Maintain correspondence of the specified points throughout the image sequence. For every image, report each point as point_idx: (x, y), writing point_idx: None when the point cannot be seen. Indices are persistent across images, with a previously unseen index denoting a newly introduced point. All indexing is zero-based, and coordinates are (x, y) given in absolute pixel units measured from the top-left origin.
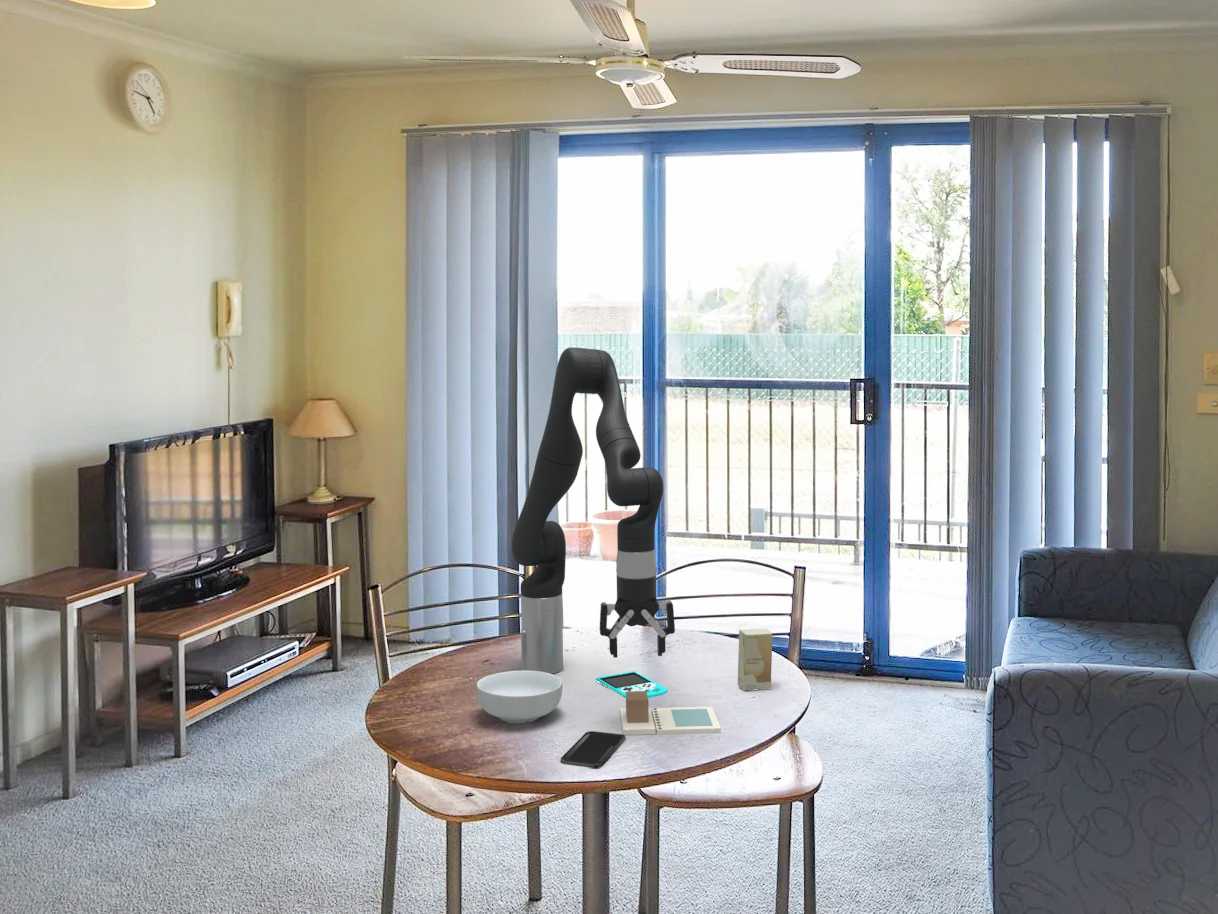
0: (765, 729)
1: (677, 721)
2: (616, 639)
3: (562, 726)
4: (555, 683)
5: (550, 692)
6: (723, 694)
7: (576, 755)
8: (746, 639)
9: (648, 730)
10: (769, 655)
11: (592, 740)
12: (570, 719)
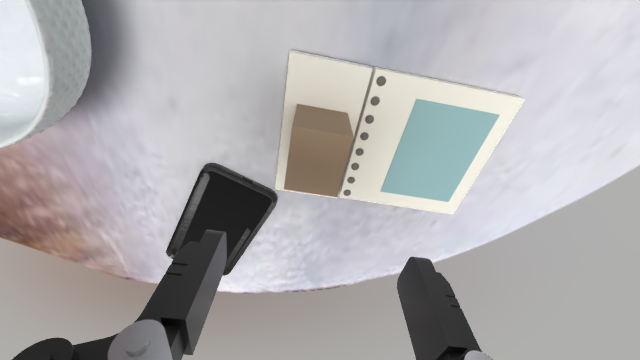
0: (532, 208)
1: (394, 171)
2: (189, 353)
3: (143, 102)
4: None
5: (38, 125)
6: None
7: None
8: None
9: (323, 195)
10: None
11: (214, 202)
12: (156, 57)
